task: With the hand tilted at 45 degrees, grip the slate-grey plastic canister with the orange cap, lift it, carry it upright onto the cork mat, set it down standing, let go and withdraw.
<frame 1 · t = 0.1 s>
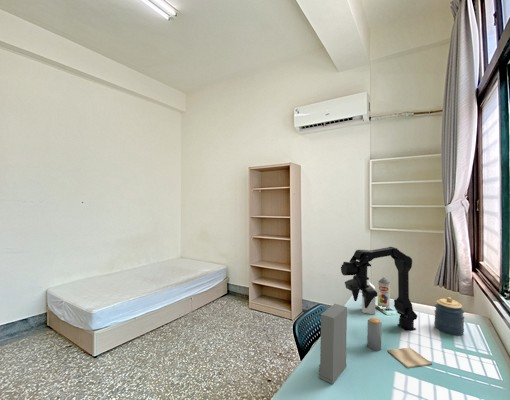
hand: (360, 304, 138), 15 cm above the table, tool pointing down, fingers open, 9 cm apart
aerosol can: (383, 308, 169), on the table
tall grey pillar: (332, 372, 106), on the table
mat: (408, 357, 116), on the table
canister: (374, 347, 124), on the table
canister 2: (448, 330, 142), on the table
milk carton: (368, 311, 164), on the table
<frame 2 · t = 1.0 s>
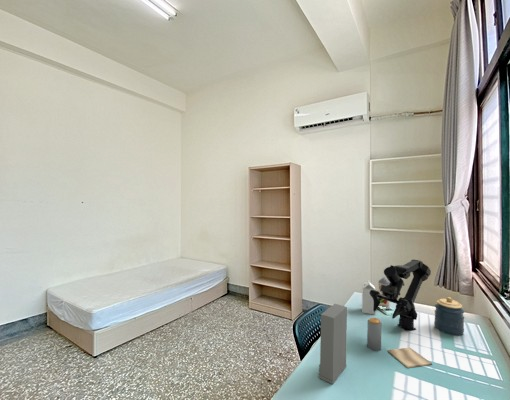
hand: (383, 314, 129), 13 cm above the table, tool tilted 45°, fingers open, 9 cm apart
nothing on the table moved.
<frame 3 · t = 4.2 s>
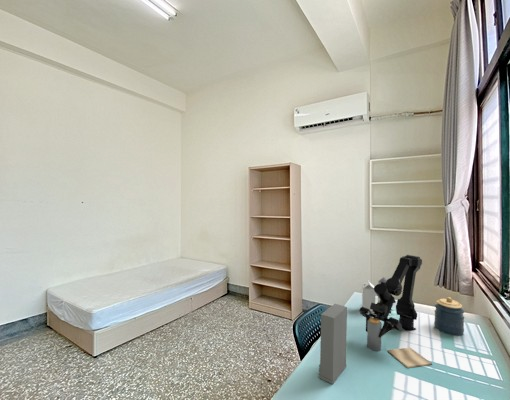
hand: (372, 334, 123), 7 cm above the table, tool tilted 45°, fingers closed on canister, 6 cm apart
canister: (374, 347, 124), on the table, touching gripper
everything else where it was.
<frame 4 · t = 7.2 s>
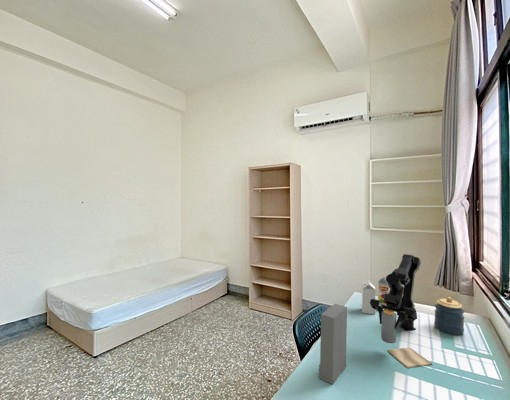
hand: (387, 326, 119), 12 cm above the table, tool tilted 45°, fingers closed on canister, 6 cm apart
canister: (388, 339, 120), point 6 cm above the table, touching gripper
everything else where it was.
when the fingers open (8 cm above the table, at t = 10.2 s): canister drops 1 cm, resting on mat.
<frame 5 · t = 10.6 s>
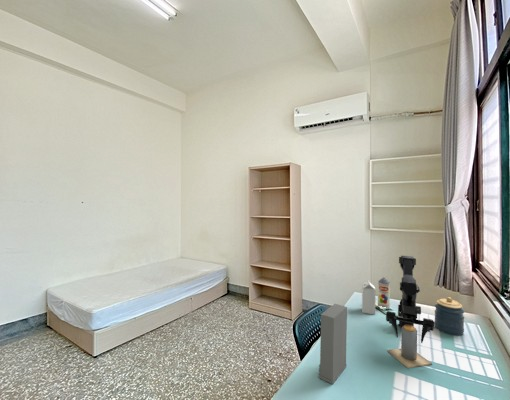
hand: (409, 339, 115), 9 cm above the table, tool tilted 45°, fingers open, 9 cm apart
canister: (408, 356, 116), point 1 cm above the table, touching mat
everything else where it was.
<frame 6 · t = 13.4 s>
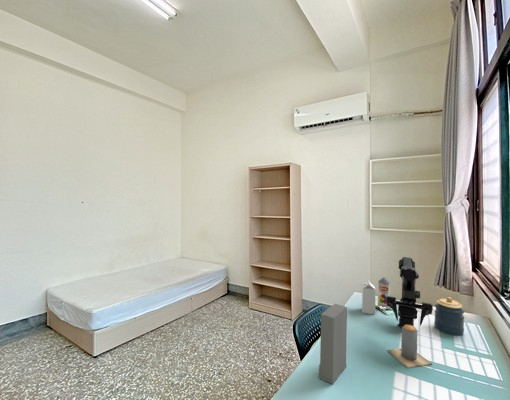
hand: (408, 322, 120), 14 cm above the table, tool tilted 45°, fingers open, 9 cm apart
nothing on the table moved.
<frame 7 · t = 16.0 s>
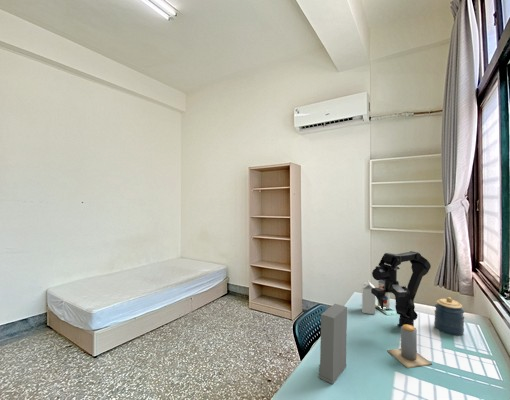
hand: (389, 307, 138), 13 cm above the table, tool pointing down, fingers open, 9 cm apart
nothing on the table moved.
at the end: canister inside the target area on the mat (0.1 cm from its centre), point 0.7 cm above the mat's base; canister tilted 1°; the gripper is holding nothing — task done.
